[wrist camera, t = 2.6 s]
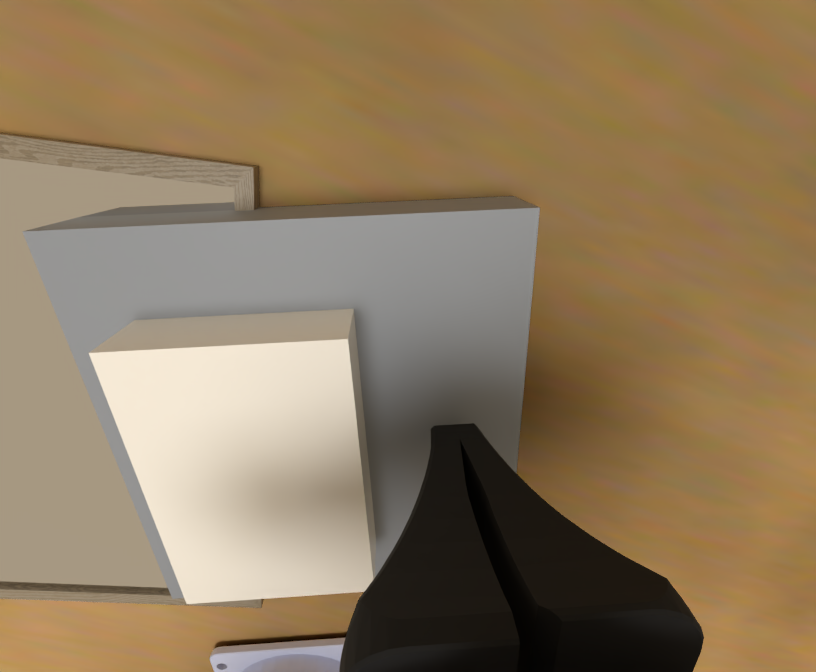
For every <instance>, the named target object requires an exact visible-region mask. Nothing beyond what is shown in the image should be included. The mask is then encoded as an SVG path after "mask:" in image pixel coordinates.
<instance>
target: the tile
mask: <svg viewBox="0 0 816 672" xmlns="http://www.w3.org/2000/svg"><path fill="white" fill-rule="evenodd" d="M89 355H90V358H91V361H92V363H93V366H94V368H95V371H96V373H97V376H98V378H99V381H100V384H101V386H102V389H103V391H104V394H105V396H106V399H107V402H108V404H109V407H110V409H111V412H112V414H113V417H114V419H115V422H116V425H117V427H118V430H119V432H120V435H121V437H122V440H123V442H124V445H125V448H126V450H127V453H128V455H129V458H130V460H131V463H132V465H133V468H134V471H135V473H136V476H137V478H138V481H139V483H140V486H141V489H142V491H143V494H144V496H145V499H146V501H147V504H148V506H149V509H150V512H151V514H152V517H153V519H154V522H155V524H156V527H157V529H158V532H159V535H160V537H161V540H162V542H163V545H164V547H165V550H166V553H167V555H168V558H169V560H170V563H171V565H172V568H173V570H174V573H175V576H176V578H177V581H178V583H179V586H180V588H181V591H182V593H183V596H184V599H185V601H186V604H197V603H211V602H226V601H240V600H254V599H268V598H282V597H297V596H311V595H325V594H339V593H353V592H365V590H366V589H367V588H368V586H369V585H370V584H371V582H372V581H373V579H374V578H375V555H376V535H375V524H374V514H373V504H372V493H371V483H370V473H369V462H368V452H367V442H366V431H365V421H364V410H363V400H362V390H361V379H360V369H359V359H358V348H357V338H356V328H355V317H354V309H339V310H319V311H300V312H281V313H262V314H242V315H223V316H204V317H185V318H165V319H146V320H134V321H133V322H131V323H130V324H128V325H127V326H126V327H124V328H123V329H121V330H120V331H119V332H117V333H116V334H114V335H113V336H112V337H110V338H109V339H107V340H106V341H105V342H103V343H102V344H100V345H99V346H98V347H96V348H95V349H94V350H92V351H91V352H89Z"/></svg>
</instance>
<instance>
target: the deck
mask: <svg viewBox="0 0 816 672" xmlns="http://www.w3.org/2000/svg"><path fill="white" fill-rule="evenodd" d="M539 211H540V208H539V207H537V206H535V205H533V204H530V203H528V202H526V201H524V200H521V199H519V198H517V197H514V196H504V197H482V198H460V199H438V200H415V201H393V202H371V203H349V204H327V205H305V206H282V207H260V208H257V209H255V210H245V211H235V210H227V211H205V212H182V213H160V214H138V215H116V216H93V217H78V218H74V219H70V220H66V221H62V222H58V223H54V224H50V225H46V226H42V227H38V228H34V229H30V230H26V231H22V232H23V235H24V237H25V240H26V242H27V245H28V247H29V249H30V252H31V254H32V257H33V259H34V262H35V264H36V267H37V269H38V271H39V274H40V276H41V279H42V281H43V284H44V286H45V289H46V291H47V293H48V296H49V298H50V301H51V303H52V306H53V308H54V311H55V313H56V315H57V318H58V320H59V323H60V325H61V328H62V330H63V333H64V335H65V337H66V340H67V342H68V345H69V347H70V350H71V352H72V355H73V357H74V359H75V362H76V364H77V367H78V369H79V372H80V374H81V377H82V379H83V381H84V384H85V386H86V389H87V391H88V394H89V396H90V399H91V401H92V403H93V406H94V408H95V411H96V413H97V416H98V418H99V421H100V423H101V425H102V428H103V430H104V433H105V435H106V438H107V440H108V443H109V445H110V448H111V450H112V452H113V455H114V457H115V460H116V462H117V465H118V467H119V470H120V472H121V474H122V477H123V479H124V482H125V484H126V487H127V489H128V492H129V494H130V496H131V499H132V501H133V504H134V506H135V509H136V511H137V514H138V516H139V518H140V521H141V523H142V526H143V528H144V531H145V533H146V536H147V538H148V540H149V543H150V545H151V548H152V550H153V553H154V555H155V558H156V560H157V562H158V565H159V567H160V570H161V572H162V575H163V577H164V580H165V582H166V584H167V587H168V589H169V592H170V594H171V597H172V599H177V598H184V596H183V593H182V591H181V588H180V586H179V583H178V581H177V578H176V576H175V573H174V570H173V568H172V565H171V563H170V560H169V558H168V555H167V553H166V550H165V547H164V545H163V542H162V540H161V537H160V535H159V532H158V529H157V527H156V524H155V522H154V519H153V517H152V514H151V512H150V509H149V506H148V504H147V501H146V499H145V496H144V494H143V491H142V489H141V486H140V483H139V481H138V478H137V476H136V473H135V471H134V468H133V465H132V463H131V460H130V458H129V455H128V453H127V450H126V448H125V445H124V442H123V440H122V437H121V435H120V432H119V430H118V427H117V425H116V422H115V419H114V417H113V414H112V412H111V409H110V407H109V404H108V402H107V399H106V396H105V394H104V391H103V389H102V386H101V384H100V381H99V378H98V376H97V373H96V371H95V368H94V366H93V363H92V361H91V358H90V355H89V352H91V351H92V350H94V349H95V348H96V347H98V346H99V345H100V344H102V343H103V342H105V341H106V340H107V339H109V338H110V337H112V336H113V335H114V334H116V333H117V332H119V331H120V330H121V329H123V328H124V327H126V326H127V325H128V324H130V323H131V322H133V321H134V320H146V319H165V318H185V317H204V316H223V315H242V314H262V313H281V312H300V311H319V310H339V309H354V317H355V328H356V338H357V348H358V359H359V369H360V379H361V390H362V400H363V410H364V421H365V431H366V442H367V452H368V462H369V473H370V483H371V493H372V504H373V514H374V524H375V535H376V555H375V577H376V575H377V574H378V572H379V571H380V569H381V568H382V566H383V565H384V563H385V561H386V560H387V558H388V556H389V555H390V553H391V552H392V550H393V548H394V547H395V545H396V543H397V541H398V539H399V537H400V536H401V534H402V532H403V530H404V528H405V525H406V523H407V521H408V519H409V517H410V515H411V513H412V510H413V508H414V505H415V503H416V500H417V498H418V495H419V492H420V489H421V486H422V483H423V480H424V477H425V473H426V469H427V465H428V460H429V456H430V450H431V428H432V427H433V426H436V425H453V424H471V423H474V424H475V425H476V426H477V427H478V428H479V429H480V431H481V432H482V433H483V435H484V436H485V437H486V439H487V440H488V441H489V443H490V444H491V445H492V446H493V448H494V449H495V450H496V451H497V452H498V454H499V455H500V456H501V457H502V458H503V459H504V460H505V462H506V463H507V464H508V465H509V466H510V467H511V468H512V469H513V470H514V472H515V473H516V472H517V461H518V450H519V438H520V427H521V416H522V404H523V393H524V382H525V370H526V359H527V347H528V336H529V325H530V313H531V302H532V291H533V279H534V268H535V257H536V245H537V234H538V223H539Z"/></svg>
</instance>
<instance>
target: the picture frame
mask: <svg viewBox="0 0 816 672" xmlns="http://www.w3.org/2000/svg"><path fill="white" fill-rule="evenodd" d="M257 208H259V166H253V165H245V164H238V163H230V162H222V161H215V160H207V159H199V158H192V157H184V156H176V155H168V154H161V153H153V152H145V151H138V150H130V149H122V148H115V147H107V146H99V145H92V144H84V143H76V142H69V141H61V140H53V139H46V138H38V137H30V136H22V135H15V134H7V133H0V599H26V600H54V601H82V602H110V603H138V604H166V605H194V606H222V607H250V608H262V604H263V600H264V599H254V600H240V601H226V602H211V603H197V604H186V601H185V599H184V598H177V599H172V597H171V594H170V592H169V589H168V587H167V584H166V582H165V580H164V577H163V575H162V572H161V570H160V567H159V565H158V562H157V560H156V558H155V555H154V553H153V550H152V548H151V545H150V543H149V540H148V538H147V536H146V533H145V531H144V528H143V526H142V523H141V521H140V518H139V516H138V514H137V511H136V509H135V506H134V504H133V501H132V499H131V496H130V494H129V492H128V489H127V487H126V484H125V482H124V479H123V477H122V474H121V472H120V470H119V467H118V465H117V462H116V460H115V457H114V455H113V452H112V450H111V448H110V445H109V443H108V440H107V438H106V435H105V433H104V430H103V428H102V425H101V423H100V421H99V418H98V416H97V413H96V411H95V408H94V406H93V403H92V401H91V399H90V396H89V394H88V391H87V389H86V386H85V384H84V381H83V379H82V377H81V374H80V372H79V369H78V367H77V364H76V362H75V359H74V357H73V355H72V352H71V350H70V347H69V345H68V342H67V340H66V337H65V335H64V333H63V330H62V328H61V325H60V323H59V320H58V318H57V315H56V313H55V311H54V308H53V306H52V303H51V301H50V298H49V296H48V293H47V291H46V289H45V286H44V284H43V281H42V279H41V276H40V274H39V271H38V269H37V267H36V264H35V262H34V259H33V257H32V254H31V252H30V249H29V247H28V245H27V242H26V240H25V237H24V235H23V232H22V231H26V230H30V229H34V228H38V227H42V226H46V225H50V224H54V223H58V222H62V221H66V220H70V219H74V218H78V217H93V216H116V215H138V214H160V213H182V212H205V211H227V210H235V211H245V210H255V209H257Z"/></svg>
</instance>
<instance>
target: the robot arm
mask: <svg viewBox="0 0 816 672" xmlns="http://www.w3.org/2000/svg"><path fill="white" fill-rule="evenodd" d="M703 639H704V636H703V632H702V629H701V626H700V625H699V623H698V622H697V620H696V619H695V617H694V616H693V614H692V613H691V611H690V609H689V608H688V606H687V605H686V604H685V602H684V601H683V599H682V598H681V596H680V595H679V594H678V593H677V591H676V590H675V589H674V588H673V586H672V585H671V584H670V582H669V581H668V580H667V578H665V577H663V576H661V575H659V574H657V573H655V572H653V571H651V570H649V569H648V568H646V567H644V566H642V565H640V564H638V563H636V562H634V561H632V560H630V559H628V558H627V557H625V556H623V555H621V554H620V553H618V552H616V551H615V550H613V549H611V548H610V547H608V546H607V545H605V544H603V543H602V542H600V541H598V540H597V539H595V538H594V537H592V536H591V535H589V534H588V533H586V532H585V531H584V530H582V529H581V528H579V527H578V526H577V525H575V524H574V523H572V522H571V521H569V520H568V519H567V518H565V517H564V516H563V515H561V514H560V513H559V512H558V511H556V510H555V509H554V508H553V507H552V506H550V505H549V504H548V503H547V502H546V501H544V500H543V499H542V498H541V497H540V496H539V495H538V494H537V493H536V492H535V491H533V490H532V489H531V488H530V487H529V486H528V485H527V484H526V483H525V482H524V481H523V480H522V479H521V478H520V477H519V476H518V475H517V474H516V473H515V472H514V470H513V469H512V468H511V467H510V466H509V465H508V464H507V463H506V462H505V460H504V459H503V458H502V457H501V456H500V455H499V454H498V452H497V451H496V450H495V449H494V448H493V446H492V445H491V444H490V443H489V441H488V440H487V439H486V437H485V436H484V435H483V433H482V432H481V431H480V429H479V428H478V427H477V426H476V425H475V424H474V423H471V424H453V425H436V426H433V427H432V428H431V450H430V456H429V460H428V465H427V469H426V473H425V477H424V480H423V483H422V486H421V489H420V492H419V495H418V498H417V500H416V503H415V505H414V508H413V510H412V513H411V515H410V517H409V519H408V521H407V523H406V525H405V528H404V530H403V532H402V534H401V536H400V537H399V539H398V541H397V543H396V545H395V547H394V548H393V550H392V552H391V553H390V555H389V556H388V558H387V560H386V561H385V563H384V565H383V566H382V568H381V569H380V571H379V572H378V574H377V575H376V577H375V578H374V579H373V581H372V582H371V584H370V585H369V586H368V588H367V589H366V590H365V592H364V593H363V594H362V596H361V597H360V599H359V600H358V603H357V605H356V608H355V611H354V613H353V616H352V619H351V622H350V625H349V628H348V631H347V634H346V637H345V638H331V639H317V640H304V641H290V642H276V643H263V644H249V645H235V646H222V647H217V648H215V649H213V651H212V653H211V656H210V662H211V665H212V667H213V670H214V672H693V669H694V667H695V664H696V662H697V660H698V657H699V655H700V652H701V649H702V644H703Z"/></svg>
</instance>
